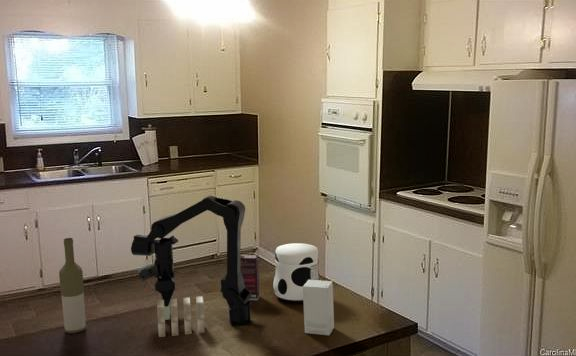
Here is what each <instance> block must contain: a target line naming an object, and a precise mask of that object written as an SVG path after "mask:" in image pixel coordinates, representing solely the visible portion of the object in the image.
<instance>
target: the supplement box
mask: <svg viewBox="0 0 576 356" xmlns="http://www.w3.org/2000/svg"><path fill="white" fill-rule="evenodd" d="M259 268H260V267H259V254H240V271H241V274H242V276H243V279H244V285H245V287H246V288H247V289H248V290H249V291H250V292H251V293H252V295H251V298H250V299H249V301H258V300H259V298H260V272H259V271H260V270H259Z"/></svg>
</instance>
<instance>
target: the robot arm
mask: <svg viewBox="0 0 576 356" xmlns="http://www.w3.org/2000/svg"><path fill="white" fill-rule="evenodd" d="M206 211H209V212H212V213H213V214H214V215H216V216H218V217H221V218H222V220H223V221H222V222H223V225H224V226H225V230H226V274H224V275H223V277H222V278H220V285H221V286H220V290H219V291H220V293H221V296H222V298H223V299H224V300H225V301H226V303H227V305H228V309H227V311H228V322H229V323H230V324H231V326H232V327H235V326H244V325H251V324H252V320H251V302H250V300H249V299H250V298H251V295H252V293H251V292H250V291H249V290H248V289H247V288H246V287H245V285H244V279H243V276H242V274H241V271H240V255H241V253H242V252H241V246H242V244H241V235H242V231H241V230H242V227H243V222H244V219H245V214H246V205H245V204H244V203H243V202H242V201H240V200H230V199H227V198H221V197H217V196H213V195H208V196H206V197H204V198H202V200H200V201H198V202H196V203H194V204H192V205H191V206H189V207H187V208H185V209H183V210H181V211H180V212H177V213H174V214H170V215H167V216H163V217H161V218H159V219H158V220H156V221H154V222H153V223H152V224H151V226H150V231H149V233H148V235H142V234H135V235H134V236H133V240H132V242H131V247H130V251H131V254H132V255H133V256H140V257H141V256H143V257H144V256H145V257H150V256H152V255H153V254H154V256H155V257H154V261H153V262H152V263H149V264H147V265H145V266H143V267H140V268H139V269H138V270H137V273H138V275H139V276H138V277H139V279H140V280H141V282H145V281H146V280H148V279H150V278H153V277H154V278H156V280H155V281H154V290H155V291H156V292H158V293H159V294H160V295H161V300H164V306H165V307H168V305H169V303H170V299H172V296H173V295H174V292H175V289H176V280H175V265H174V250H173V249H174V248H173V245H176V244H177V243H178V242H179V239H177V238H176V237H175V235H171V236H170V237H166V236H168V235H169V234H171V233H172V232H174V231H175V230H176V229H177V228H179V227H180V226H181V225H182V224H184V223H186V222H188V221H190V220H192V219H193V218H195V217H197V216H199V215H200V214H203V213H204V212H206Z"/></svg>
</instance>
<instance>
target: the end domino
mask: <svg viewBox="0 0 576 356" xmlns="http://www.w3.org/2000/svg"><path fill="white" fill-rule="evenodd" d="M195 302H196V303H195V304H196V305H195V306H196V326H197V328H196V329H197V334H202V333H204V334H205V333H206V332H205V331H206V330H205V313H204V312H205V310H204V309H205V307H204V297H203V296H200V295H199V296H195Z"/></svg>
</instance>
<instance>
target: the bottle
mask: <svg viewBox="0 0 576 356" xmlns="http://www.w3.org/2000/svg"><path fill="white" fill-rule="evenodd" d="M63 247H64V259H65V262H64V264H63V265H62V266H61V268H60V269H59V272H58V277H59V285H60V286H59V287H60V295H61V306H62V315H63V325H64V331H65V333H68V334H76V333H81V332H83V331H84V330H85V329H86V326H87V325H86V311H85V310H86V307H85V306H86V305H85V292H84V290H85V289H84V288H85V287H84V274H83V268H82V267H81V266H80V265H79V264H78V263H77V262H76V261H75V252H74V239H73V237H66V238H64V239H63Z"/></svg>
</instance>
